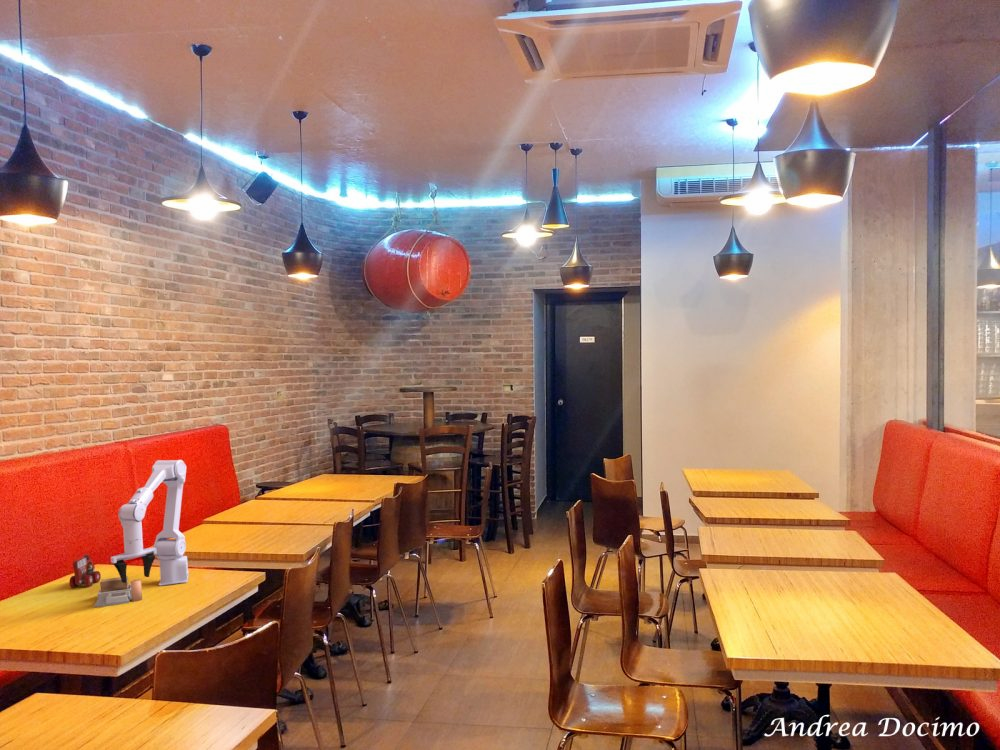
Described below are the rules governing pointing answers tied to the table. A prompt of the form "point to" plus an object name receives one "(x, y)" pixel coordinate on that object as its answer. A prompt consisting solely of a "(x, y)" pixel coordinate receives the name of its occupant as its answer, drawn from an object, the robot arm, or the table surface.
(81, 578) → the toy fire truck
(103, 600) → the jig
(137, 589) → the tail peg
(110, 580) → the tan rectangular block
